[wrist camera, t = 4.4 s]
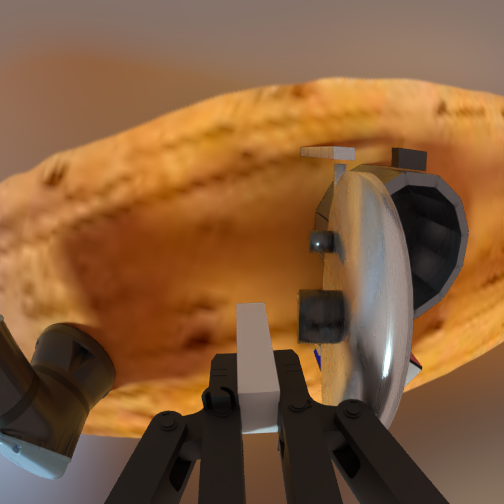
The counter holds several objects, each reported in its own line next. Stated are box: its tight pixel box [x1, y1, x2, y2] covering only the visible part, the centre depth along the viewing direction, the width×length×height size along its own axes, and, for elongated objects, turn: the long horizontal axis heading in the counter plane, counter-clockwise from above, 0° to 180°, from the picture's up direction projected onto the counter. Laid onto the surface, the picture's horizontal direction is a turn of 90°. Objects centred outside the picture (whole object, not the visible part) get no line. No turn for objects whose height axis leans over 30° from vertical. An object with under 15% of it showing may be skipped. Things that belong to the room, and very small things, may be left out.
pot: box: [297, 146, 469, 356], centre depth 30 cm, size 18×20×12 cm
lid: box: [297, 164, 413, 430], centre depth 17 cm, size 18×17×4 cm
